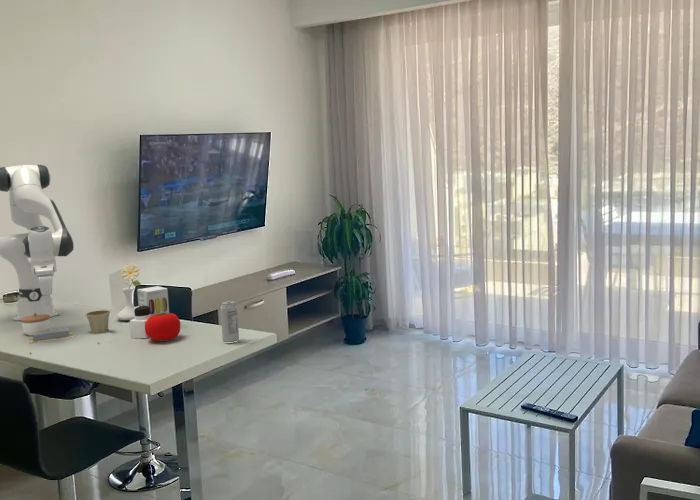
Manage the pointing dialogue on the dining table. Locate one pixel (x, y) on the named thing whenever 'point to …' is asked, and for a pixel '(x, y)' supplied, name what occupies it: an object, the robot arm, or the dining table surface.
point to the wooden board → (50, 339)
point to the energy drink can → (229, 321)
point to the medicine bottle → (139, 322)
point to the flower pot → (98, 320)
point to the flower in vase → (129, 291)
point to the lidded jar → (35, 323)
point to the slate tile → (50, 334)
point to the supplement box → (154, 299)
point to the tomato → (162, 326)
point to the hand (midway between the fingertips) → (47, 302)
